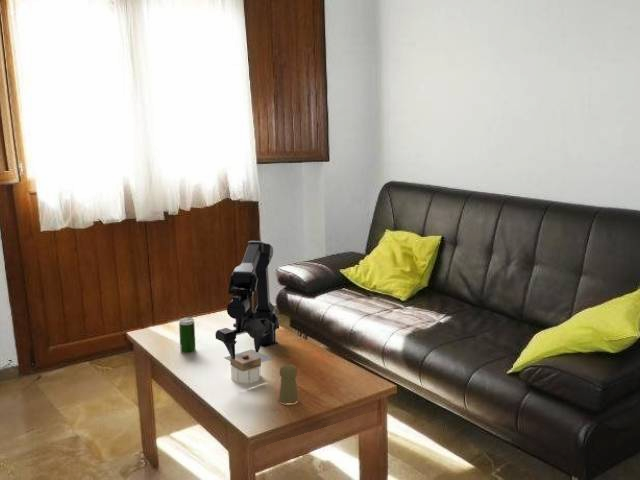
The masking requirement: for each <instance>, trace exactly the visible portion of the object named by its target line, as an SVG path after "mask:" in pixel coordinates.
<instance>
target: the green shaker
mask: <svg viewBox="0 0 640 480" xmlns="http://www.w3.org/2000/svg"><path fill="white" fill-rule="evenodd" d="M297 375H298V370H297V367H296V366H295V365H293V364H285V365H282V366H281V367H280V369H279V376H280V378H281V379H280V388H279V396H278V403H279V402H281V403H285V404H286V403H295V402H296V401H298V399H299V400H300V398H299V391H298V386H297V385H298V384H297V380H296V378H297Z"/></svg>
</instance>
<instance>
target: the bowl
mask: <svg viewBox="0 0 640 480" xmlns="http://www.w3.org/2000/svg"><path fill="white" fill-rule="evenodd" d="M230 372H231V373H230V374H231V380H232V381H233V382H235V383H238V384H252V383H255V382H258V381H259V380H261V366H259V367H256V368H252V369H249V370H246V371H241V370H239V369H237V368H235V367H234V366H232V365H230Z"/></svg>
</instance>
